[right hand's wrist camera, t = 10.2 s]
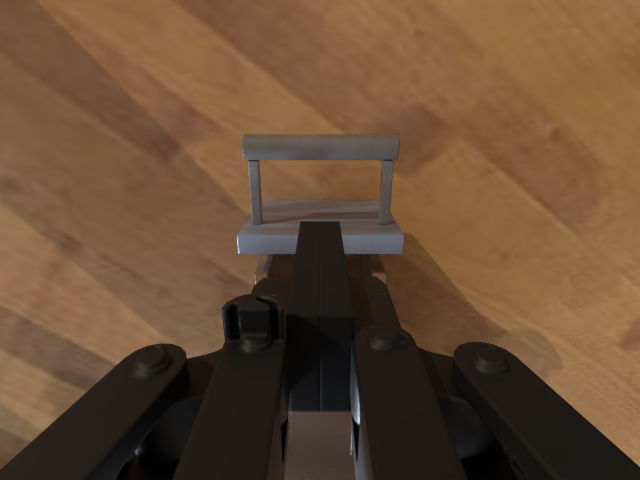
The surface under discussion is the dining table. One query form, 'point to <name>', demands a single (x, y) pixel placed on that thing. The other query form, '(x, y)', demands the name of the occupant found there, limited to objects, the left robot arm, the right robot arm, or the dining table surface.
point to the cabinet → (319, 446)
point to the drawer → (320, 205)
